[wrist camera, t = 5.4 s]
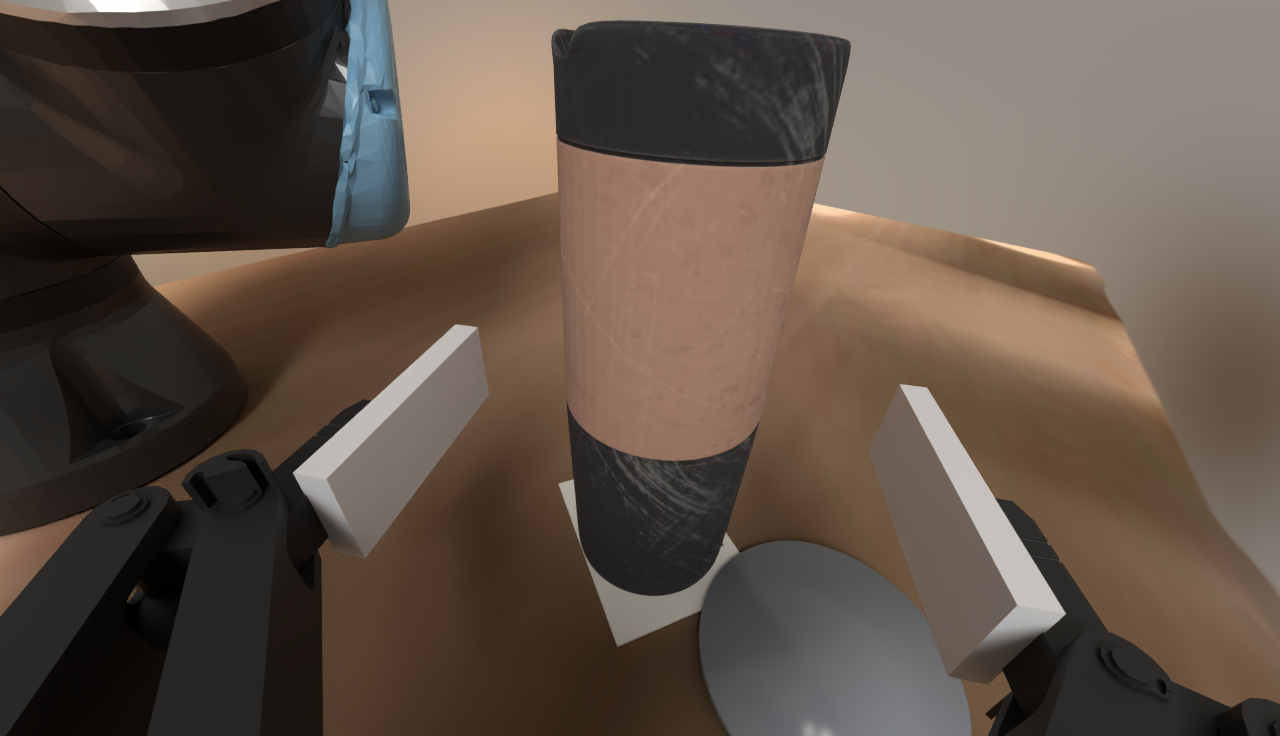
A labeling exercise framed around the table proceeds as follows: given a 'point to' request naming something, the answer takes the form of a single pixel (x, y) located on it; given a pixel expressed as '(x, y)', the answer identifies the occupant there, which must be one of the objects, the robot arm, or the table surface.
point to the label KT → (641, 612)
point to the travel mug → (678, 269)
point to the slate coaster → (821, 650)
